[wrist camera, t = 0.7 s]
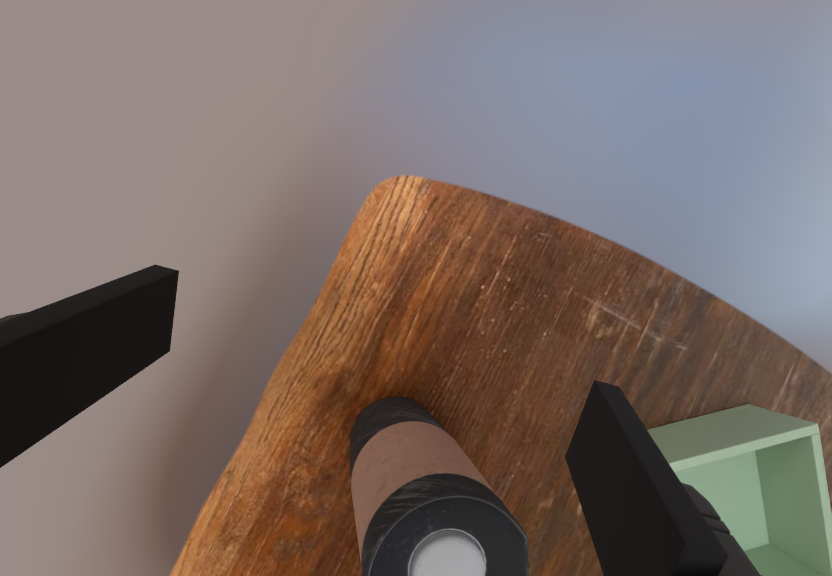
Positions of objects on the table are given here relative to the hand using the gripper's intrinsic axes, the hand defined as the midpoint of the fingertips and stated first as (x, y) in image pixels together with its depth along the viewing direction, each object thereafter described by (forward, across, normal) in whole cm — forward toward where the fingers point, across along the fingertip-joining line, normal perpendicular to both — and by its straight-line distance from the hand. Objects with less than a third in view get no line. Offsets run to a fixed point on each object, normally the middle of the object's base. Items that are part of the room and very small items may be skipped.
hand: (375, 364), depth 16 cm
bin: (+27, +29, -17) cm, 44 cm away
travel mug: (+22, +1, -17) cm, 28 cm away
